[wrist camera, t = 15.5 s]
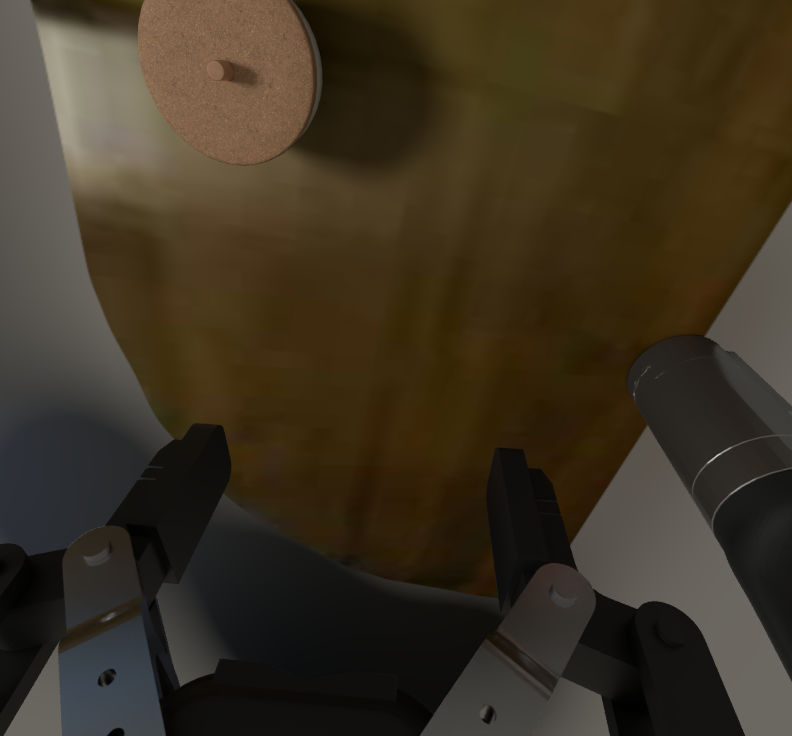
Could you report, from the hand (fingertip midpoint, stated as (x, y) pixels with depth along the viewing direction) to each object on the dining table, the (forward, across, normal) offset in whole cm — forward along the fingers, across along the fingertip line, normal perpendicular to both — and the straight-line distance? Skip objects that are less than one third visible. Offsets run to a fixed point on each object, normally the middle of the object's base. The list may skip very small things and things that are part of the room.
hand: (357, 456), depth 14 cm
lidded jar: (+30, +11, -9) cm, 34 cm away
